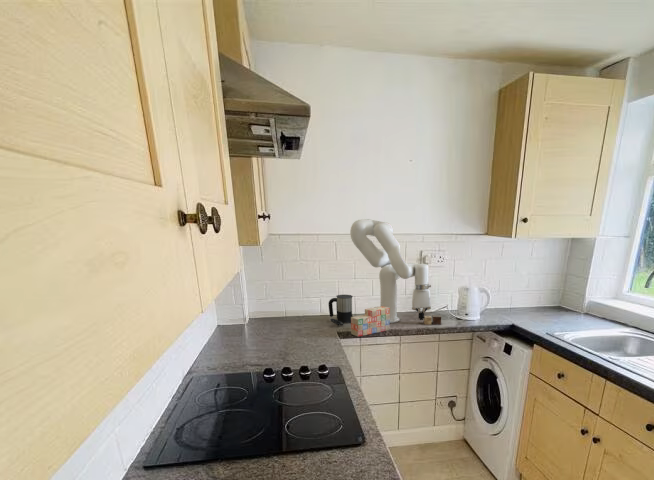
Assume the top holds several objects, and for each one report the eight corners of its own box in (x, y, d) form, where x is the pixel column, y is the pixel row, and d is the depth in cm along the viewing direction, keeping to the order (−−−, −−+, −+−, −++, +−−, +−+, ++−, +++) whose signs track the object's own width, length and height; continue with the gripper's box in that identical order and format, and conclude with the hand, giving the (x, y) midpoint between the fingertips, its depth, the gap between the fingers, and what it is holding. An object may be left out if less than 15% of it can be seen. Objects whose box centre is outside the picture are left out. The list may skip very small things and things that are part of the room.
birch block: (424, 324, 233) (424, 317, 231) (423, 322, 236) (423, 315, 235) (431, 324, 233) (431, 317, 231) (430, 322, 236) (430, 316, 235)
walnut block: (433, 324, 232) (433, 316, 231) (432, 322, 237) (432, 315, 235) (440, 324, 233) (441, 316, 231) (439, 322, 237) (440, 315, 235)
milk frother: (351, 318, 244) (350, 293, 238) (356, 325, 230) (356, 299, 224) (327, 320, 240) (326, 295, 234) (331, 327, 226) (330, 300, 220)
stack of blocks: (358, 337, 209) (357, 313, 204) (351, 334, 214) (350, 311, 209) (389, 330, 222) (390, 307, 217) (382, 327, 226) (382, 305, 221)
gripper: (434, 285, 229) (433, 317, 237) (407, 286, 230) (407, 318, 237) (435, 287, 223) (435, 320, 230) (408, 288, 223) (408, 321, 230)
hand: (421, 319), depth 233 cm, fingers closed
